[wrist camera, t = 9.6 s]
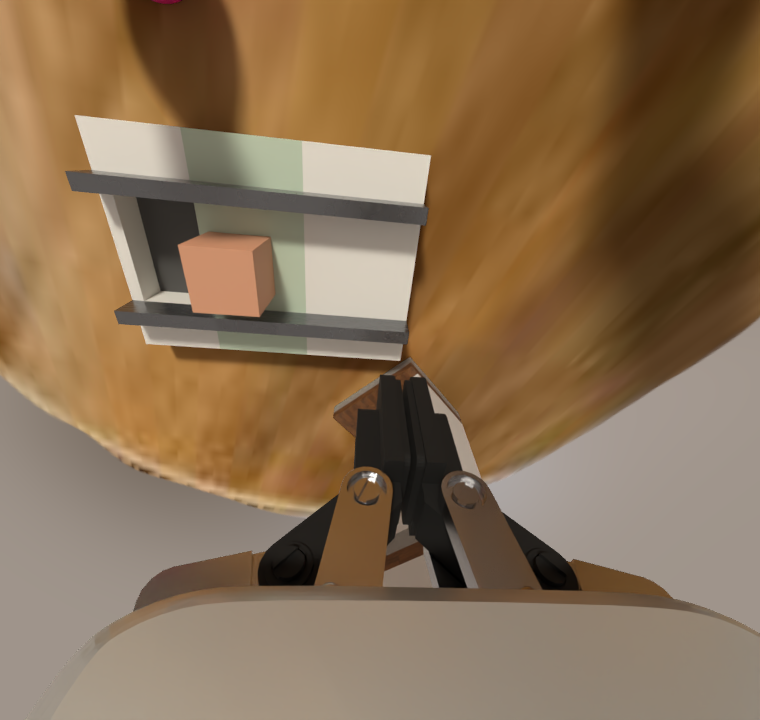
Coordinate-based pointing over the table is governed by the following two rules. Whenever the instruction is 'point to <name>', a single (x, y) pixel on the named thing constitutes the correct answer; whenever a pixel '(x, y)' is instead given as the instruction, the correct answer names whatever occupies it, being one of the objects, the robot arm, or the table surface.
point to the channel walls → (266, 200)
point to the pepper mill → (167, 1)
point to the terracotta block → (228, 273)
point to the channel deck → (264, 227)
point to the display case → (404, 550)
